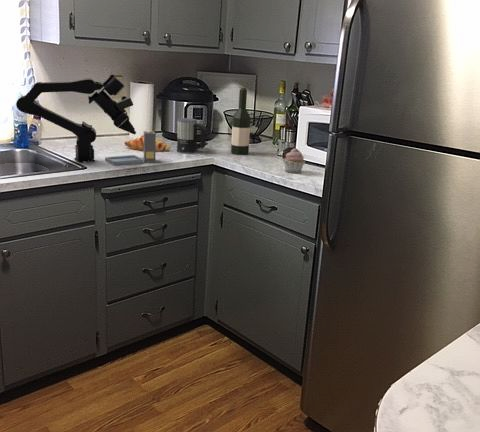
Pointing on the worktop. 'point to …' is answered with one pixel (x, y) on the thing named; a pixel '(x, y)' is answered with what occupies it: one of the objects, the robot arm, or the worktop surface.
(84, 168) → the worktop surface
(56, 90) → the robot arm
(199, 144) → the milk frother
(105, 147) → the worktop surface
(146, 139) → the caddy
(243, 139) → the wine bottle
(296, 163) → the cupcake
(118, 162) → the tray
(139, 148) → the croissant
